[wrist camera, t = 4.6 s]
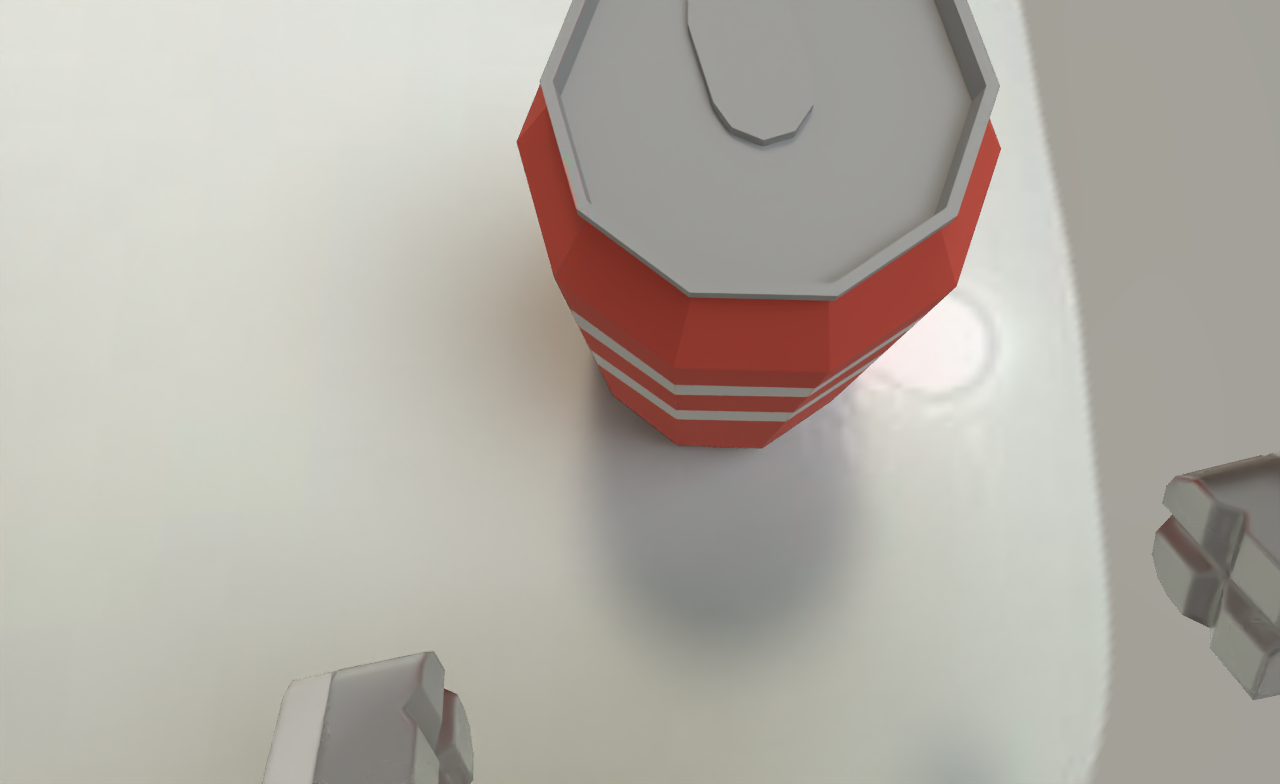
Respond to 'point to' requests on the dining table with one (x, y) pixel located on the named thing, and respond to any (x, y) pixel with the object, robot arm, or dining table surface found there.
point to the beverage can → (756, 194)
